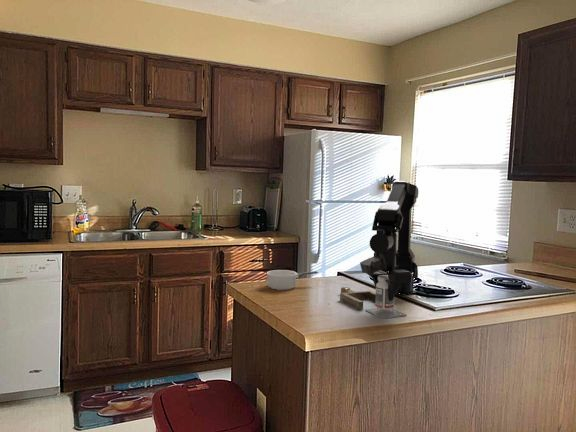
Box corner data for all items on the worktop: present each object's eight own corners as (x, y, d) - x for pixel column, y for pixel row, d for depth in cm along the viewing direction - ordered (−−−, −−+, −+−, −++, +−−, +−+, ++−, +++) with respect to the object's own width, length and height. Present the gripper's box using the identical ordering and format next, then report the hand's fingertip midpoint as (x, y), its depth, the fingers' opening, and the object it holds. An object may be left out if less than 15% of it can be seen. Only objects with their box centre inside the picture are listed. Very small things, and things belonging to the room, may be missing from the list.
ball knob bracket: (357, 291, 175) (357, 285, 175) (390, 306, 157) (390, 298, 157) (328, 294, 171) (328, 287, 170) (358, 309, 152) (359, 302, 152)
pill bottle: (393, 306, 152) (395, 275, 151) (393, 311, 147) (395, 279, 146) (375, 304, 153) (376, 274, 152) (374, 309, 148) (376, 277, 147)
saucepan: (322, 289, 179) (323, 274, 178) (271, 292, 172) (271, 276, 172) (311, 282, 190) (311, 268, 189) (262, 284, 183) (262, 270, 183)
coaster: (389, 308, 155) (389, 306, 155) (406, 315, 147) (406, 314, 147) (365, 310, 152) (365, 309, 151) (382, 318, 143) (382, 317, 143)
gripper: (348, 245, 153) (346, 293, 155) (382, 255, 136) (380, 308, 138) (378, 244, 158) (376, 290, 159) (414, 253, 141) (411, 305, 142)
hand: (384, 298), depth 150 cm, fingers closed on pill bottle, 6 cm apart
